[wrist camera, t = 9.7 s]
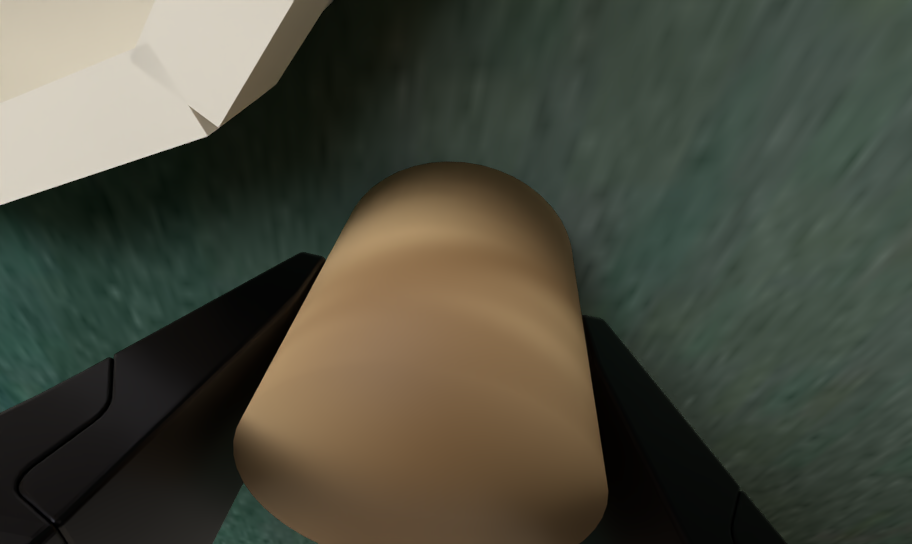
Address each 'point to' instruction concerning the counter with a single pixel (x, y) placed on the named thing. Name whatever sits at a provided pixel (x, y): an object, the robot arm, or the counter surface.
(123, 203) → the counter surface
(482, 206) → the bead
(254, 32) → the tray
